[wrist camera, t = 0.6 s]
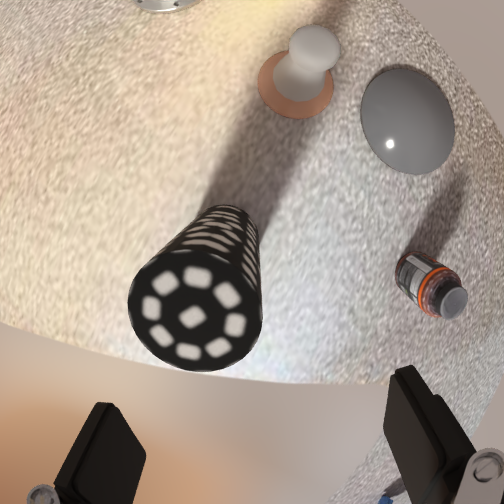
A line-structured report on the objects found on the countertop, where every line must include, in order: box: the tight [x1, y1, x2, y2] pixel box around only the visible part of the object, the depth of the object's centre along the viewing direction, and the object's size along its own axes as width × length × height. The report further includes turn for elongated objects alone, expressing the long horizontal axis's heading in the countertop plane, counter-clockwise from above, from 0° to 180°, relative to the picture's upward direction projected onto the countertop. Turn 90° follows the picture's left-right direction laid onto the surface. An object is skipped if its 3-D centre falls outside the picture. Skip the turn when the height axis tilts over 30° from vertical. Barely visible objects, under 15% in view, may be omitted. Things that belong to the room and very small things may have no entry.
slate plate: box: [360, 69, 455, 175], centre depth 32 cm, size 14×14×1 cm
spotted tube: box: [128, 205, 263, 372], centre depth 27 cm, size 8×8×20 cm
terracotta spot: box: [258, 51, 333, 119], centre depth 32 cm, size 9×9×1 cm
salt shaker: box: [273, 25, 341, 102], centre depth 25 cm, size 6×6×13 cm
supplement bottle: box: [395, 252, 468, 320], centre depth 32 cm, size 6×6×11 cm
